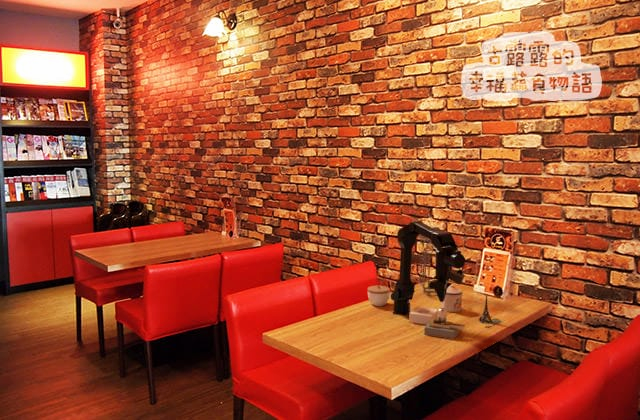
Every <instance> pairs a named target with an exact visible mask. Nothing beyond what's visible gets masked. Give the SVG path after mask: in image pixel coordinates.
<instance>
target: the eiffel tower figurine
mask: <svg viewBox="0 0 640 420" xmlns="http://www.w3.org/2000/svg"><path fill="white" fill-rule="evenodd" d="M477 320H478V322H479V323H480V324H491V325H488V326H487V325H486V326H484V328H485V329H490V328H493V327H494V326H497V325H499V324H500V323H502V322H503V321H502V319H499V318H492V316H491V315H490V312H489V308H488V294H485V304H484V308H483V312H482V313H481V316H480V317H479V318H478V319H477Z"/></svg>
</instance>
